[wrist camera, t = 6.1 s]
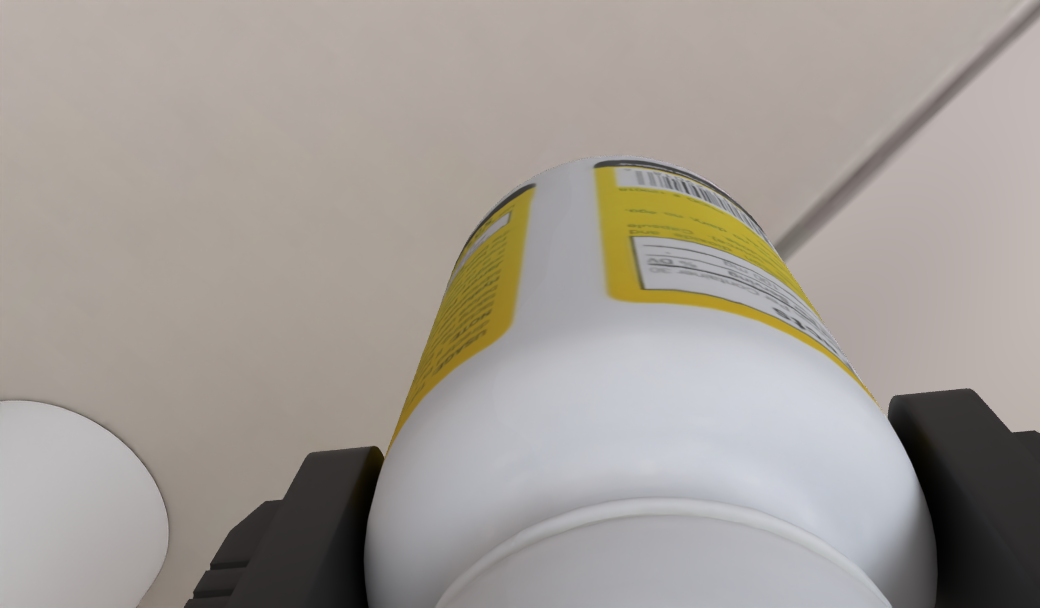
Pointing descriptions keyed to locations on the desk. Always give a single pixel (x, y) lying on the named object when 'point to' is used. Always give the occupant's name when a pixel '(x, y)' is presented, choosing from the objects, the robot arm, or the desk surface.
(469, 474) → the supplement bottle
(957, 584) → the robot arm
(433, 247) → the desk surface
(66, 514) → the cup
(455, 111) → the desk surface
